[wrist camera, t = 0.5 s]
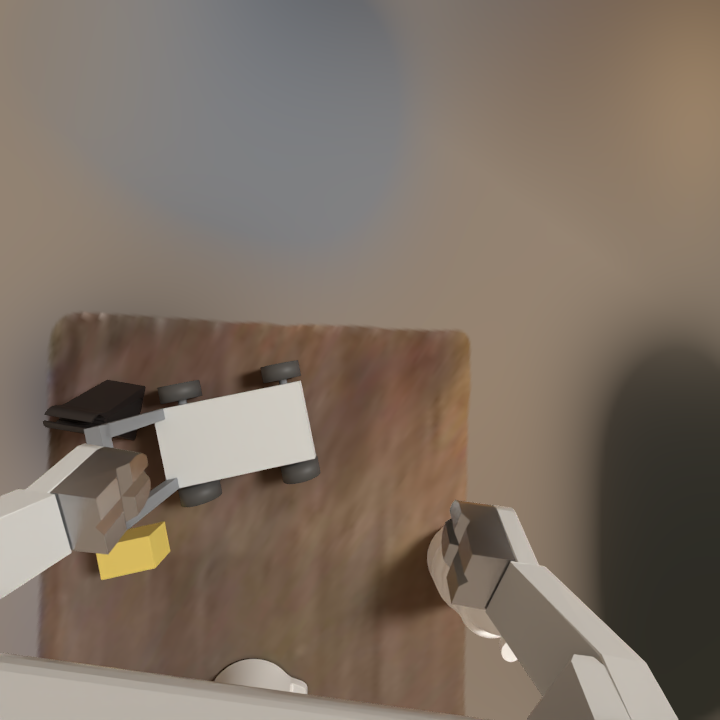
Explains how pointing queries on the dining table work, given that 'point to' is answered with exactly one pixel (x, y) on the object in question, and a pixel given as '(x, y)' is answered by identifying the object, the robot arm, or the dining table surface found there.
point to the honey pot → (470, 616)
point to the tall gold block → (135, 551)
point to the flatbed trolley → (223, 437)
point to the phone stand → (99, 408)
